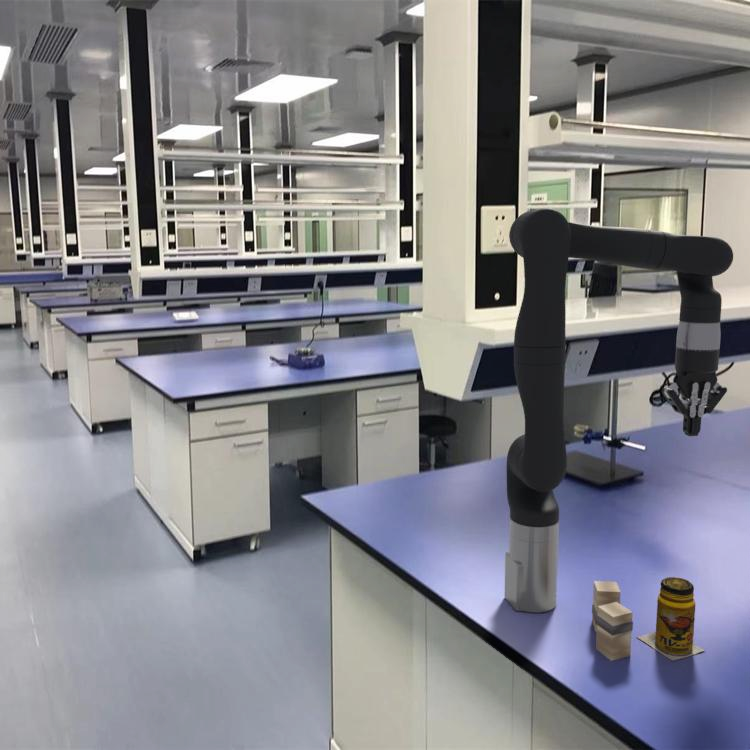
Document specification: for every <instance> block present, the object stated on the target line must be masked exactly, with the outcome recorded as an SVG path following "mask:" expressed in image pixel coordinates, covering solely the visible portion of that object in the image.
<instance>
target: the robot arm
mask: <svg viewBox="0 0 750 750" xmlns="http://www.w3.org/2000/svg"><path fill="white" fill-rule="evenodd" d="M508 236H509V237H508V238H509V243H510V245H511V248H512V249H513V251H514V252H515V253H516V254H517V255H519V257H521V258H522V260H523V269H524V270H523V273H524V287H523V288H524V290H523V297H522V301H521V304H520V305H521V306H520V309H519V312H518V315H517V320H516V324H515V330H514V339H513V367H514V368H513V369H514V370H513V371H514V377H515V382H516V386H517V390H518V394H519V397H520V401H521V405H522V408H523V416H524V434H522V435H520V436H518V437H517V438H515V439H514V440H513V441H512V443H511V445H510V447H509V449H508V451H507V457H506V498H507V503H508V506H509V546H508V547H509V550H508V551H506V552H505V555H504V557H505V559H504V560H505V561H504V598H505V600H506V601H507V602H508V603H509V604H510V605H511V607H512V608H513V609H514V610H515V612H526V613H545V612H546V613H547V612H549V611H552V610H553V609H555V607H556V606H557V596H558V591H557V590H558V588H557V587H558V560H559V557H558V556H559V535H560V531H559V528H560V507H559V504H558V502H557V499H556V497H555V494H554V490H555V489H556V488H557V487H559V486H560V484H561V483H562V482H563V479H564V478H565V476H566V473H567V467H568V456H567V445H566V434H565V433H566V432H565V420H564V419H565V417H564V411H565V410H564V405H565V378H566V377H565V375H566V374H565V372H566V349H567V348H566V345H567V344H566V343H567V342H566V341H567V340H566V339H567V338H566V317H567V316H566V314H567V313H566V312H567V311H566V283H567V274H568V273H567V272H568V266H569V259H580V260H588V261H597V262H601V263H609V264H611V265H612V264H613V265H616V266H617V265H619V266H623V267H629V268H634V269H635V268H636V269H644V270H650V271H652V270H653V271H674V272H676V275H677V276H676V277H677V283H678V289H679V293H680V305H679V306H680V308H679V319H678V320H679V321H678V327H677V333H676V342H675V343H676V345H675V355H674V356H675V359H674V369H675V374H674V377H673V379H672V384H670V385H669V386H668V387H662V388H661V393H662V394H663V396H664V398H665V399H666V400H667V402H668V403H669V405H670V406H671V407H672V409H673V411H674V412H676V413H678V414H680V415H682V416H683V421H682V432H684V434H685V436H688V437H698V436H699V433H700V431H701V429H702V428H701V426H702V417H703V416H704V415H706V414H711V413H712V412H713V411H714V409H715V408H716V407H717V405H719V403H720V401H721V400H722V399H723V397H725V395H726V394H727V392H728V387H726V386H723V385H721V384H720V383H719V382H718V377H717V374H716V372H717V371H719V359H720V347H721V318H722V317H721V315H722V295H721V293H720V292H719V291H717V290H716V289H715V288H714V281H713V277H716V276H719V275H722V274H723V273H725V272H726V271H727V270H729V268H730V267H731V266H732V264H733V262H734V261H733V260H734V252H733V249H732V247H731V246H730V244H729V243H728V242H727V241H725V240H724V239H722V238H719V237H714V236H704V235H691V234H689V235H688V234H675V233H670V232H666V231H660V230H654V229H647V228H645V229H644V228H639V227H626V226H625V227H623V226H622V227H621V226H604V225H603V226H602V225H590V224H583V223H578V222H573V221H568V219H567V218H566V217H565V215H564V214H562V212H560V211H559V210H557V209H554V208H549V207H545V208H544V207H543V208H538V209H537V208H535V209H530V210H527V211H525V212H524V213H522V214H520V215H519V216H518V217H517V218H515V219H514V221H513V222H512V224H511V226H510V229H509V234H508ZM679 395H680V397H679Z"/></svg>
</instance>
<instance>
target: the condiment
mask: <svg viewBox="0 0 750 750" xmlns="http://www.w3.org/2000/svg"><path fill="white" fill-rule="evenodd" d="M694 590H695V587H694V584H693V583H691V582H690V581H689V580H687V579H685V578H682V577H677V576H676V577H675V576H672V577H671V576H670V577H665V578H662V579H661V581H660V588H659V593H658V595H657V600H656V601H657V605H656V606H657V607H656V622H655V631H653V632H650V633H646V634H643V635H639V636H637V637H636V638H638V639H639V640H641V641H642V642H644V643H646V644H647V645H648V646H650V647H651V648H653V649H654V650H655V651H657V652H658V653H659V654H662V656H664V657H666V658H667V659H669V660H671V661H673V662H674V661H678V660H680V659H685V658H688V657H690V656H691V657H692V656H695V655H697V654H699V653H701V652H705V649H703V648H702V647H700V646H698V645H696V644H695V643H694V636H695V635H694V634H695V633H694V632H695V630H694V629H695V618H696V617H695V616H696V601H695V599H694V595H695V593H694Z"/></svg>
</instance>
